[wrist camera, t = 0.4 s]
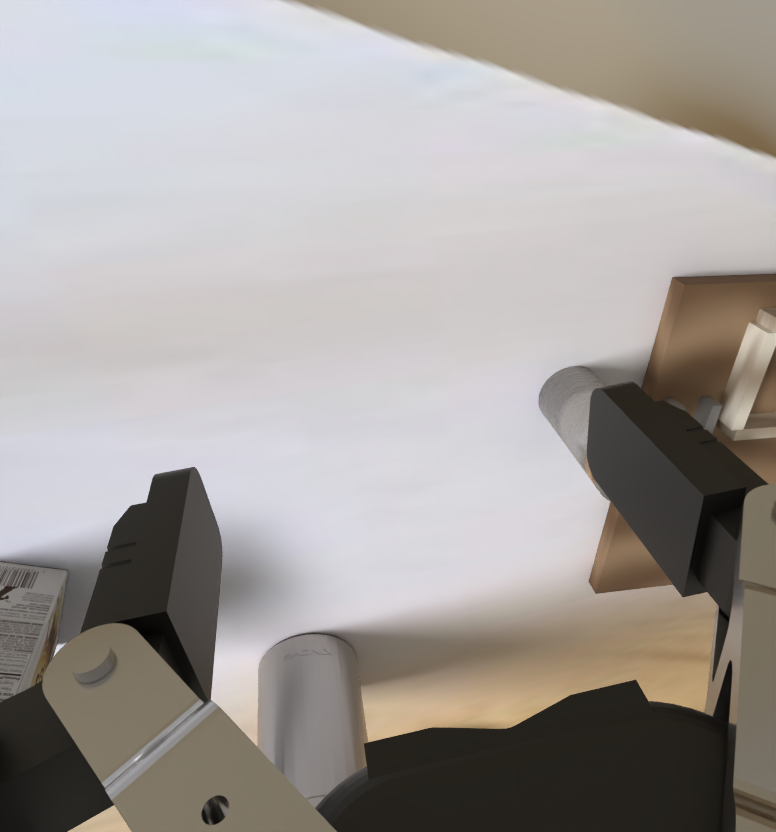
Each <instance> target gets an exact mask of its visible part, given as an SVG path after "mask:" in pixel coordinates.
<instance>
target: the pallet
mask: <svg viewBox="0 0 776 832" xmlns="http://www.w3.org/2000/svg"><path fill="white" fill-rule="evenodd" d="M642 390H643V391H644V392H645V393H646V394H647V395H648V396H650V397H651V398H652V399H653V400H654V401H655V402H656V401H661V400H662V401H664V402H667V403H669V404H671V405H673V406H675V407H677V408H680V409H682V410H684V411H686V412H687V413H689V414H690V415H691V416H692V417H693V418H694V419H695V420H696V421H698V422H699V423H700V424H701V425H702V426H703V429H704V430H706V429H707V430H708V431H709V432H710V433H711V434H712V435H713V436H715V437H716V438H717V441H718V442H721V443H723V444H724V445H725V446H726V447H727V448H728V449H729V450H730V451H732V452H733V453H734V454H735V455H736V456H737V457H738V458H740V459H741V460H742V461H743V462H744V463H745V464H746V465H747V466H749V467H750V468H751V469H752V470H753V471H754V472H755V473H756V474H758V475H759V476H760V477H761V478H762V479H763V480H764V481H766V482H767V483H768V484H776V274H760V275H732V276H704V277H677V278H672V281H671V285H670V288H669V292H668V296H667V299H666V303H665V307H664V310H663V314H662V317H661V321H660V325H659V328H658V332H657V336H656V339H655V343H654V347H653V350H652V354H651V357H650V361H649V365H648V368H647V372H646V376H645V379H644V383H643V386H642ZM589 583H590V585H591V586H592V588H593V590H594V591H595V593H596V594H597V593H605V592H614V591H622V590H630V589H639V588H647V587H655V586H664V585H672V582H671V581H670V580H669V578H668V577H667V576H666V574H665V573H664V572H663V570H662V569H661V568H660V566H659V565H658V564H657V562H656V561H655V560H654V558H653V557H652V556H651V554H650V553H649V551H648V550H647V549H646V547H645V546H644V545H643V543H642V542H641V541H640V539H639V538H638V537H637V535H636V534H635V533H634V531H633V530H632V529H631V527H630V526H629V525H628V523H627V522H626V521H625V519H624V518H623V517H622V515H621V514H620V513H619V511H618V510H617V509H616V507H615V506H614V505H613V503H612V502H611V503H610V506H609V510H608V514H607V517H606V521H605V525H604V528H603V532H602V535H601V539H600V543H599V546H598V550H597V554H596V557H595V561H594V565H593V568H592V572H591V575H590V579H589Z"/></svg>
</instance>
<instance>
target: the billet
mask: <svg viewBox="0 0 776 832" xmlns="http://www.w3.org/2000/svg"><path fill="white" fill-rule="evenodd" d="M601 387H606V385H605V384H604V383H603V382H602V381H601V380H600V379H599V378H598V377H597V376H596V375H595V374H594V373H593V372H592V371H590V370H589V369H587V368H584V367H579V366H574V367H568V368H565V369H562V370H560V371H558V372H556V373H555V374H554V375H552V376H551V377H550V378H549V379H548V380H547V381H546V382H545V384H544V385H543V387H542V389H541V391H540V394H539V407H540V410H541V412H542V413H543V415H544V416H545V417H546V419H547V420H548V421H549V423H550V424H551V426H552V427H553V428H554V430H555V431H556V432H557V434H558V435H559V436H560V438H561V439H562V441H563V442H564V443H565V445H566V446H567V447H568V449H569V450H570V452H571V453H572V454H573V456H574V457H575V458H576V460H577V461H578V463H579V464H580V465H581V467H582V468H583V469H584V471H585V472H586V474H587V475H588V477H589V478H590V480H591V481H592V482H593V484H594V485H595V486H596V488H597V489H598V490H599V491H600V493H601V494H602V495H603V496H604V497H605V498H606V499H607V500H609V501H610V499H609V498H608V497H607V495H606V494H605V493H604V491H603V490H602V489H601V487H600V486H599V485H598V483H597V482H596V481H595V479H594V477H593V476H592V473H591V471H590V468H589V465H588V460H587V438H588V424H589V410H590V398H591V394H592V392H593V390H594V389H596V388H601Z"/></svg>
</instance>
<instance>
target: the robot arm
mask: <svg viewBox="0 0 776 832" xmlns="http://www.w3.org/2000/svg"><path fill="white" fill-rule="evenodd" d="M587 460H588V465H589V468H590V471H591V473H592V476H593V477H594V479H595V481H596V482H597V483H598V485H599V486H600V487H601V489H602V490H603V491H604V493H605V494H606V495H607V497H608V498H609V499H610V501H611V502H612V503H613V505H614V506H615V507H616V509H617V510H618V511H619V513H620V514H621V515H622V517H623V518H624V519H625V521H626V522H627V523H628V525H629V526H630V527H631V529H632V530H633V531H634V533H635V534H636V535H637V537H638V538H639V539H640V541H641V542H642V543H643V545H644V546H645V547H646V549H647V550H648V551H649V553H650V554H651V556H652V557H653V558H654V560H655V561H656V562H657V564H658V565H659V566H660V568H661V569H662V570H663V572H664V573H665V574H666V576H667V577H668V578H669V580H670V581H671V582H672V584H673V585H674V586H675V588H676V589H677V590H678V592H679V593H680V594H681V596H682V597H686V596H691V595H695V594H700V593H704V592H708V593H709V594H710V596H711V597H712V598H713V599H714V601H715V602H716V603H717V604H718V605H717V609H716V613H715V622H714V631H713V641H712V651H711V661H710V671H709V681H708V691H707V699H706V706H705V712H704V713H703V712H700V711H697V710H694V709H691V708H687V707H683V706H679V705H675V704H669V703H662V702H653V701H648V700H647V698H646V697H645V695H644V693H643V691H642V690H641V688H640V686H639V684H638V683H637V681H636V680H633V681H629V682H625V683H620V684H616V685H612V686H607V687H603V688H599V689H595V690H590V691H586V692H582V693H578V694H573V695H570V696H568V697H566V698H565V699H563V700H561V701H559V702H557V703H556V704H554V705H552V706H550V707H548V708H546V709H545V710H543V711H541V712H539V713H537V714H536V715H534V716H532V717H530V718H528V719H526V720H525V721H523V722H521V723H519V724H517V725H516V726H513V727H511V728H507V729H475V728H428V729H424V730H420V731H415V732H411V733H407V734H403V735H398V736H394V737H390V738H385V739H381V740H377V741H373V742H368V737H367V730H366V723H365V716H364V709H363V702H362V694H361V687H360V680H359V673H358V666H357V659H356V655H355V652H354V651H353V649H352V648H351V647H350V646H349V645H348V644H347V643H346V642H344V641H343V640H340V639H338V638H336V637H332V636H328V635H321V634H309V635H302V636H296V637H293V638H290V639H287V640H285V641H283V642H281V643H279V644H277V645H275V646H274V647H273V648H271V649H270V650H269V651H268V652H267V653H266V654H265V655H264V657H263V658H262V660H261V662H260V665H259V670H258V745H257V746H256V745H255V744H254V743H253V742H252V741H251V740H250V739H249V738H248V737H247V736H246V734H245V733H244V732H243V731H242V730H241V729H240V728H239V727H238V726H237V725H236V724H235V723H234V722H233V721H232V720H231V719H230V717H229V716H228V715H227V714H226V713H225V712H224V711H223V710H222V709H221V708H220V707H219V706H218V705H217V704H216V703H214V702H213V701H212V700H211V688H212V676H213V664H214V652H215V640H216V628H217V616H218V604H219V592H220V580H221V568H222V543H221V536H220V532H219V528H218V525H217V522H216V519H215V516H214V513H213V511H212V508H211V505H210V502H209V499H208V497H207V494H206V491H205V488H204V485H203V482H202V480H201V477H200V474H199V472H198V470H197V469H196V468H195V467H191V468H186V469H181V470H176V471H170V472H165V473H160V474H155V475H154V477H153V479H152V483H151V487H150V491H149V495H148V499H147V503H142V504H137V505H132V506H130V507H129V508H128V510H127V511H126V512H125V513H124V514H123V516H122V517H121V518H120V519H119V521H118V522H117V523H116V524H115V525H114V527H113V530H112V534H111V537H110V540H109V543H108V546H107V549H108V552H106V553H105V556H104V559H103V562H102V569H101V570H100V572H99V575H98V579H97V582H96V585H95V588H94V591H93V595H92V598H91V601H90V604H89V607H88V611H87V614H86V617H85V620H84V624H83V627H82V630H81V633H80V634H79V635H78V636H76V637H75V638H73V639H72V640H71V641H69V642H68V643H67V644H65V645H64V646H63V647H62V648H61V649H60V650H59V651H58V652H57V654H56V655H55V656H54V657H53V659H52V660H51V662H50V663H49V665H48V667H47V669H46V671H45V674H44V677H43V680H42V681H40V682H39V683H37V684H36V685H34V686H32V687H30V688H28V689H26V690H25V691H22V692H20V693H18V694H16V695H14V696H12V697H10V698H8V699H6V700H4V701H1V702H0V832H67V831H69V830H71V829H73V828H74V827H76V826H78V825H80V824H81V823H83V822H85V821H87V820H88V819H90V818H92V817H94V816H95V815H97V814H99V813H101V812H102V811H104V810H106V809H108V808H110V807H111V806H113V805H115V807H116V808H117V810H118V811H119V813H120V814H121V816H122V817H123V819H124V820H125V822H126V823H127V825H128V827H129V828H130V830H131V831H132V832H776V484H768V483H767V482H766V481H764V480H763V479H762V478H761V477H760V476H759V475H758V474H756V473H755V472H754V471H753V470H752V469H751V468H750V467H749V466H747V465H746V464H745V463H744V462H743V461H742V460H741V459H740V458H738V457H737V456H736V455H735V454H734V453H733V452H732V451H730V450H729V449H728V448H727V447H726V446H725V445H724V444H723V443H721V442H718V441H717V438H716V437H715V436H713V435H712V434H711V433H710V432H709V431H708V430H707V429H706V430H704V429H703V426H702V425H701V424H700V423H699V422H698V421H696V420H695V419H694V418H693V417H692V416H691V415H690V414H689V413H687V412H686V411H684V410H682V409H680V408H677V407H675V406H673V405H671V404H669V403H667V402H664V401H662V400H661V401H656V402H655V401H654V400H653V399H652V398H651V397H650V396H648V395H647V394H646V393H645V392H644V391H643V390H642V389H641V388H640V387H639V386H638V385H637V384H635V383H633V382H627V383H622V384H616V385H611V386H606V387H601V388H596V389H594V390H593V392H592V394H591V398H590V410H589V424H588V438H587Z"/></svg>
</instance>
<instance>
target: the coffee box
mask: <svg viewBox="0 0 776 832" xmlns="http://www.w3.org/2000/svg"><path fill="white" fill-rule="evenodd" d="M67 577H68V571H66V570H60V569H51V568H43V567H36V566H28V565H20V564H12V563H4V562H0V702H1V701H4V700H6V699H8V698H10V697H12V696H14V695H16V694H18V693H20V692H22V691H25V690H26V689H28V688H30V687H32V686H34V685H36V684H37V683H39V682H40V681H42V680H43V677H44V674H45V671H46V669H47V667H48V665H49V663H50V662H51V660H52V658H53V655H54V652H55V649H56V646H57V642H58V636H59V630H60V623H61V616H62V609H63V603H64V596H65V590H66V583H67Z"/></svg>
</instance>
